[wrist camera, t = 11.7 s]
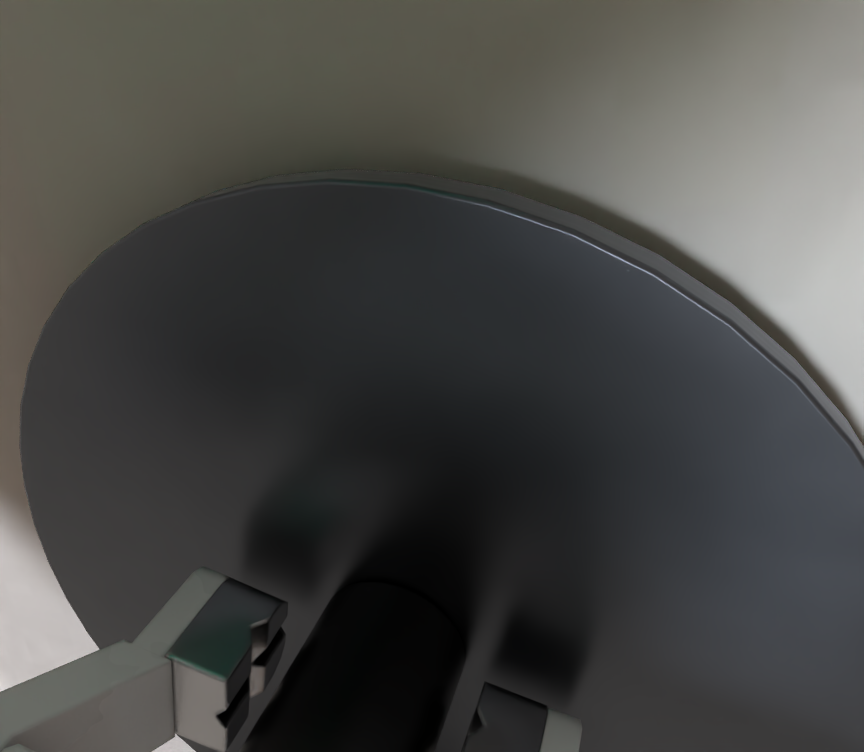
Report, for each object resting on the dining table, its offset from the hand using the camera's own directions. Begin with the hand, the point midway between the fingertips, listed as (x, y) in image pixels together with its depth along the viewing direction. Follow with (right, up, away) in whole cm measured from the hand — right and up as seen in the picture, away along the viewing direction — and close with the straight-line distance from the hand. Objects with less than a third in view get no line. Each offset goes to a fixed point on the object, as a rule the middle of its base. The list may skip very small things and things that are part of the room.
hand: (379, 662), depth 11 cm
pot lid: (0, 0, +1) cm, 1 cm away
